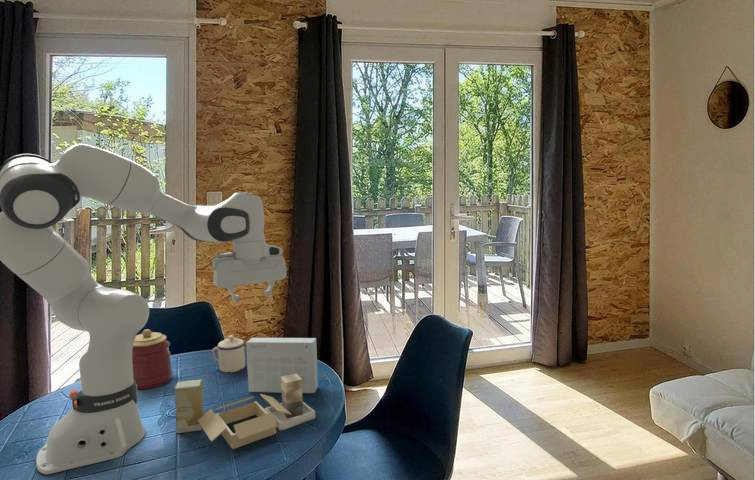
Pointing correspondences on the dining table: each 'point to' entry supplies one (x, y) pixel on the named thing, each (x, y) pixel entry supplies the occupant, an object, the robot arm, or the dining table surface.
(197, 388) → the skincare box
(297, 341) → the skincare box
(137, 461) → the dining table surface
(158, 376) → the canister
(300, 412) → the chunky box
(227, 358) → the teacup with lid
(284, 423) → the tray
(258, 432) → the carton
